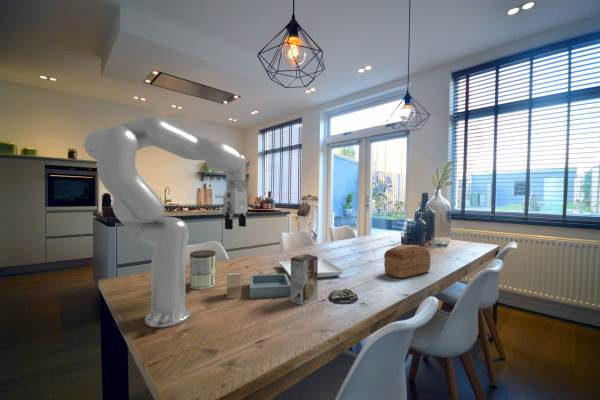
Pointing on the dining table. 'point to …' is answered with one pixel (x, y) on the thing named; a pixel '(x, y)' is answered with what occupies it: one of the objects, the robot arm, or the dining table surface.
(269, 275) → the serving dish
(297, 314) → the dining table surface
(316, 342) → the dining table surface
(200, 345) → the dining table surface
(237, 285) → the oak block
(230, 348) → the dining table surface
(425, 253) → the bread
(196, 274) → the coffee can
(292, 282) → the coffee box
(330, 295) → the dark grey coiled lump
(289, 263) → the square plate
